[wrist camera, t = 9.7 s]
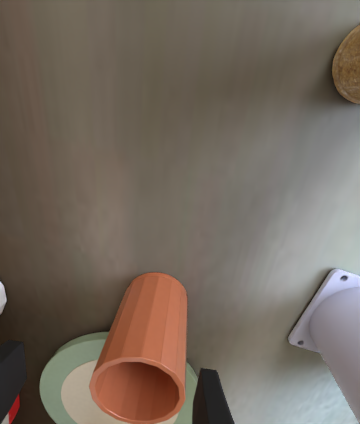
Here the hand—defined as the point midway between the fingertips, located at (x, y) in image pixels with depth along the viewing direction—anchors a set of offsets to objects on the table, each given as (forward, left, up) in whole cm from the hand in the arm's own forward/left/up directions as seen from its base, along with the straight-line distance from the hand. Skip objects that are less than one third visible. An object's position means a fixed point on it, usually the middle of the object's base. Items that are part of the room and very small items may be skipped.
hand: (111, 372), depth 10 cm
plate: (-2, +16, -10) cm, 20 cm away
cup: (-2, +4, -10) cm, 11 cm away
